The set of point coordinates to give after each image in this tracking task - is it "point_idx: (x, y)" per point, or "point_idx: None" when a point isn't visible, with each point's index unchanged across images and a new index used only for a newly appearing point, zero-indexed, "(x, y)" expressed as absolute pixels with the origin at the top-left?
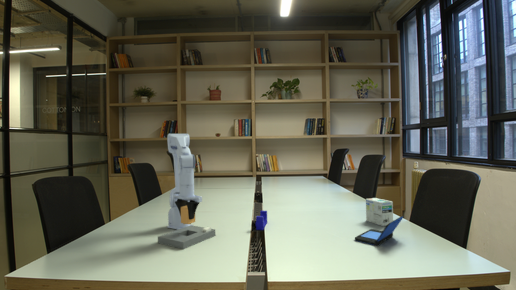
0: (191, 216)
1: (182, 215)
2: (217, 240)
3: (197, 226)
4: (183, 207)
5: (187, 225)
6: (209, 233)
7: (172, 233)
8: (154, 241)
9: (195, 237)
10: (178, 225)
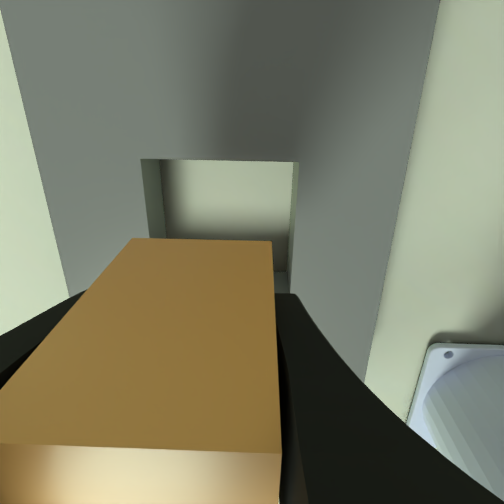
0: None
1: (229, 300)
2: (11, 290)
3: None
4: (155, 448)
5: (426, 413)
6: None
7: (351, 150)
8: (486, 4)
9: (37, 163)
10: (487, 376)
